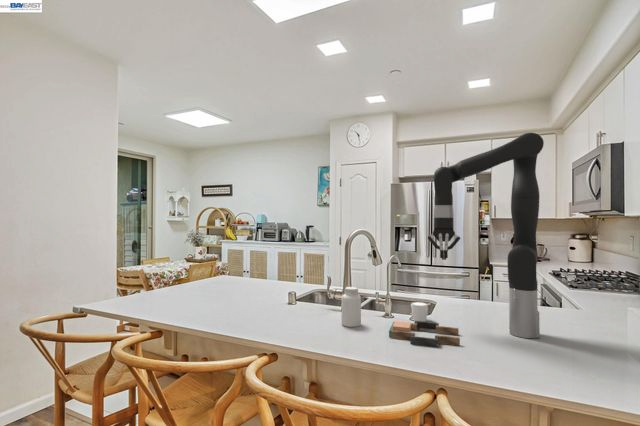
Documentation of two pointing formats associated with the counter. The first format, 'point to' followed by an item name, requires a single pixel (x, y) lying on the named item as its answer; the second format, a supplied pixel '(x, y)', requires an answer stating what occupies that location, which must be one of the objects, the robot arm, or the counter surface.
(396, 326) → the terracotta block
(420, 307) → the white tapered cylinder
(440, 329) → the trap lane
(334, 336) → the counter surface
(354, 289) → the pill bottle
